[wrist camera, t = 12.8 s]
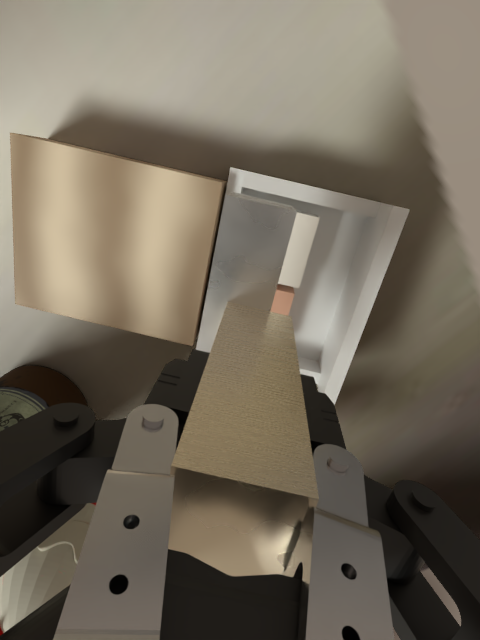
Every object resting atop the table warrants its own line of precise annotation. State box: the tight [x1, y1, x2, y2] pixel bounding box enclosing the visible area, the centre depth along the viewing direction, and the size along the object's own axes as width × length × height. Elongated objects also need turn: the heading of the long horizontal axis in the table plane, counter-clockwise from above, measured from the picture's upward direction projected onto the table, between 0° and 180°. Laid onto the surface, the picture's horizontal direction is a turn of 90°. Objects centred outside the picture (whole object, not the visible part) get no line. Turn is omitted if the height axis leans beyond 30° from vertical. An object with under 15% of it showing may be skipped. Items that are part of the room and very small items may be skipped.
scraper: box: [168, 192, 319, 576], centre depth 14 cm, size 4×12×13 cm, turn 168°
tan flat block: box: [10, 133, 228, 346], centre depth 27 cm, size 14×12×4 cm
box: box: [196, 167, 410, 405], centre depth 26 cm, size 11×14×6 cm
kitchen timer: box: [0, 503, 96, 635], centre depth 36 cm, size 14×14×15 cm
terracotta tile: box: [270, 284, 295, 316], centre depth 28 cm, size 5×5×2 cm
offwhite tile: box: [278, 210, 320, 288], centre depth 26 cm, size 5×5×2 cm
